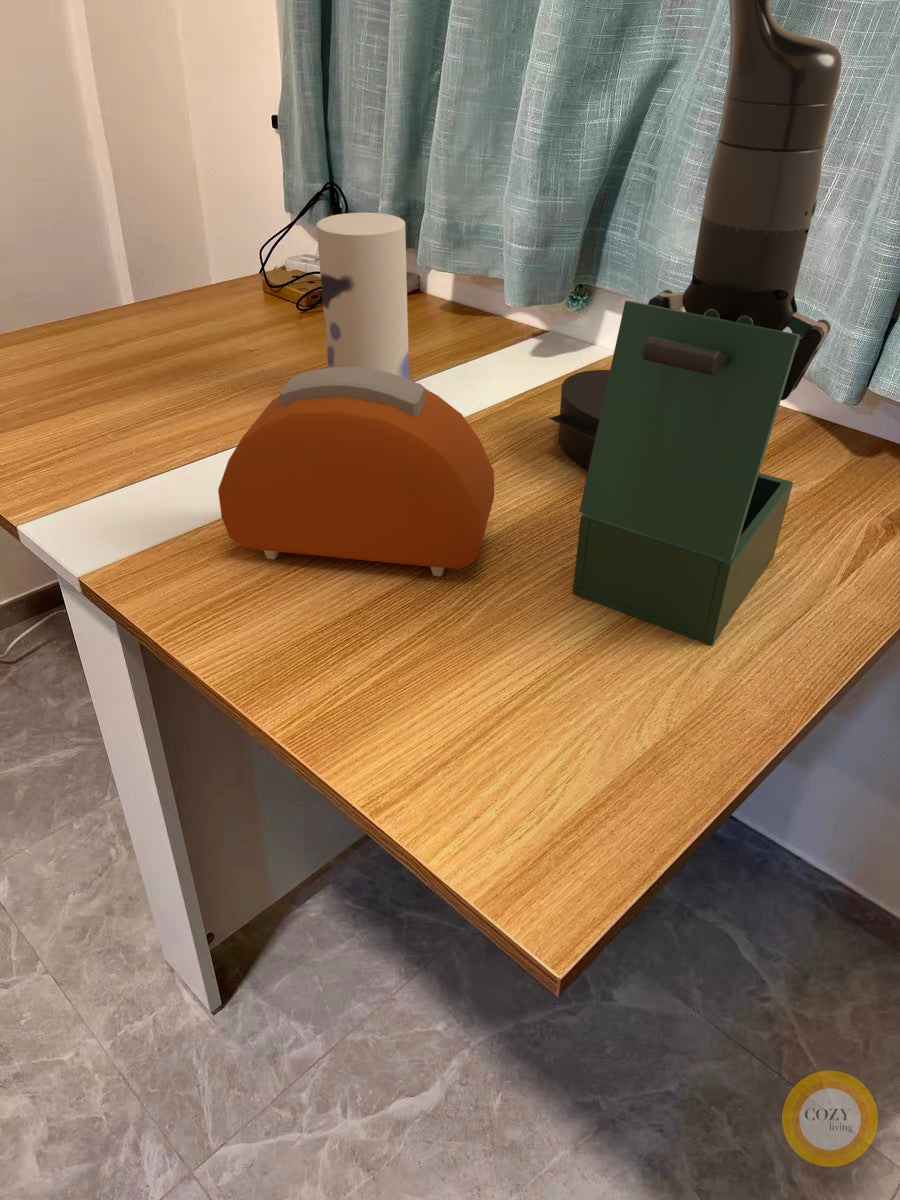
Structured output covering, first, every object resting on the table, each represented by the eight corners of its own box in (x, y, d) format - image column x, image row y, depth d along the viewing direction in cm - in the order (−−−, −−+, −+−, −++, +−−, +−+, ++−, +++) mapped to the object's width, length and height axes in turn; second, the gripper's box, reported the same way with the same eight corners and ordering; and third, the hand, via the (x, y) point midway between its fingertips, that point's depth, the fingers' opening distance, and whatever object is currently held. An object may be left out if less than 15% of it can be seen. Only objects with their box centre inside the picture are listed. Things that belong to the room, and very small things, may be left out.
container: (314, 388, 112) (298, 220, 100) (375, 367, 118) (367, 206, 106) (363, 412, 106) (352, 237, 94) (425, 390, 112) (423, 222, 100)
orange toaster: (493, 532, 85) (500, 363, 75) (480, 585, 77) (485, 406, 68) (259, 510, 88) (235, 345, 78) (225, 559, 81) (194, 385, 71)
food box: (646, 516, 87) (657, 444, 82) (773, 556, 81) (793, 481, 77) (572, 593, 77) (580, 516, 72) (712, 645, 71) (730, 565, 66)
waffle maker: (619, 417, 108) (622, 357, 104) (734, 467, 95) (742, 401, 91) (523, 450, 102) (522, 388, 97) (632, 508, 89) (636, 439, 85)
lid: (629, 300, 65) (600, 300, 61) (800, 334, 60) (782, 336, 56) (582, 510, 72) (554, 522, 68) (733, 559, 66) (712, 575, 62)
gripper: (642, 209, 64) (615, 426, 74) (846, 239, 58) (785, 473, 68) (682, 190, 69) (651, 396, 79) (873, 216, 63) (813, 437, 73)
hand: (713, 430), depth 73 cm, fingers closed on block, 4 cm apart
